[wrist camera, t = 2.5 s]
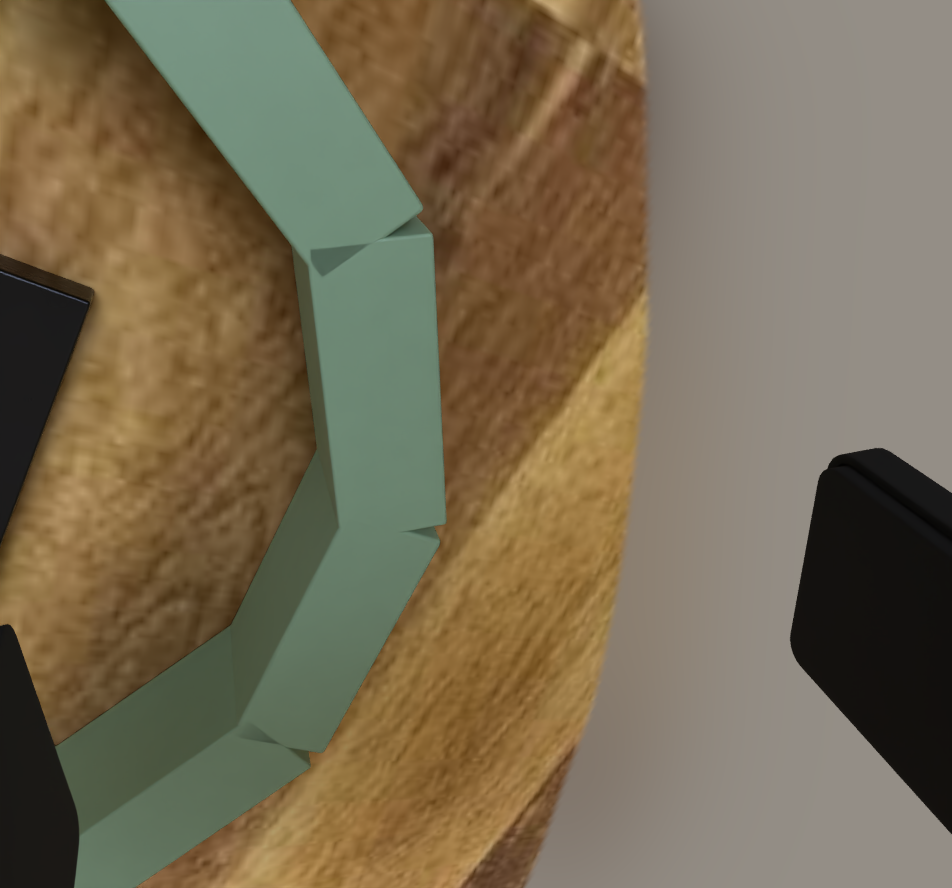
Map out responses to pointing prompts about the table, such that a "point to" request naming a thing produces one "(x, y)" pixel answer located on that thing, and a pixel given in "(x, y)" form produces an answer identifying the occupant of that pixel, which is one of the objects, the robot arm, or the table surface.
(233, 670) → the hoop
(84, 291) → the post
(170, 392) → the table surface
